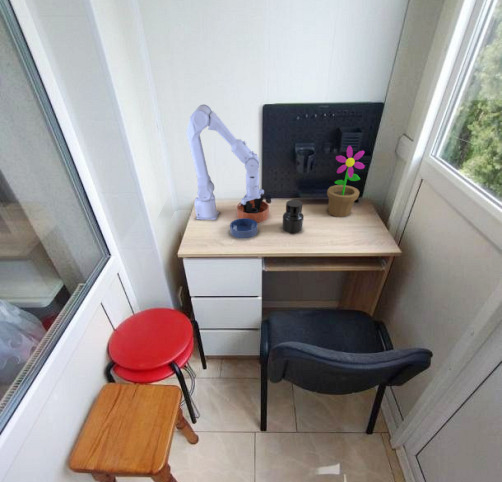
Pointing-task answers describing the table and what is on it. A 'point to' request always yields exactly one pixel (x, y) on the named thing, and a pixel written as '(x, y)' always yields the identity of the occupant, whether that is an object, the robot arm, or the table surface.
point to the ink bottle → (293, 217)
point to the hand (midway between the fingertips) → (252, 213)
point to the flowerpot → (344, 186)
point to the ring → (254, 210)
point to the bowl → (258, 217)
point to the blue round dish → (243, 228)
